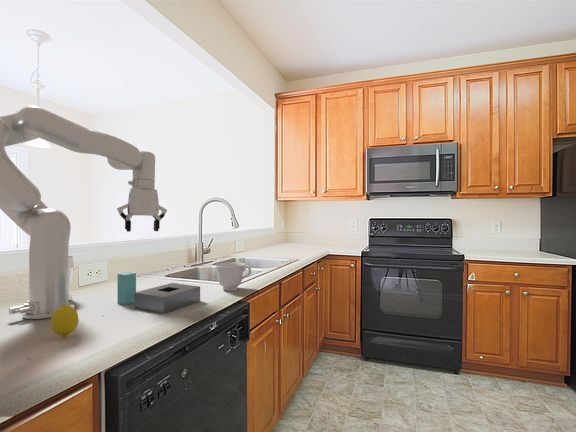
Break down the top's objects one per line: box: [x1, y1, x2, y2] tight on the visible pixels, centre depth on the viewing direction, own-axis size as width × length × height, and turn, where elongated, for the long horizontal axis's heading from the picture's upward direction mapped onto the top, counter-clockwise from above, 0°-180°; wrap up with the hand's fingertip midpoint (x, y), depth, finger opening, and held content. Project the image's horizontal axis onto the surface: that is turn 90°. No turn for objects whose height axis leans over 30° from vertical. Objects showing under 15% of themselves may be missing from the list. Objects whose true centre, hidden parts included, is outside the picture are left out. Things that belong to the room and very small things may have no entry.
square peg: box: [117, 271, 137, 306], centre depth 108 cm, size 4×4×10 cm
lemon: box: [50, 305, 79, 338], centre depth 78 cm, size 6×6×8 cm
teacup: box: [214, 261, 252, 292], centre depth 128 cm, size 12×15×10 cm
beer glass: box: [68, 255, 75, 302], centre depth 111 cm, size 7×7×15 cm
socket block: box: [133, 282, 201, 315], centre depth 107 cm, size 16×13×5 cm
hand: (142, 231), depth 119 cm, fingers open, 9 cm apart
